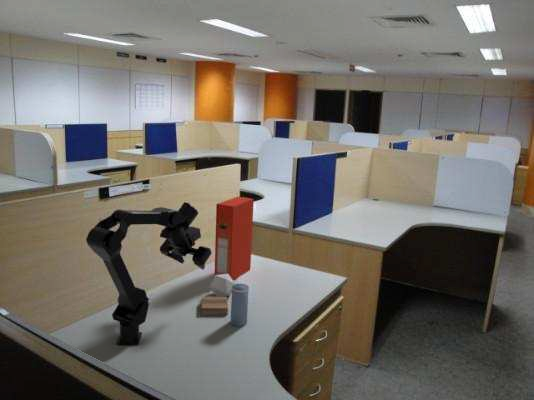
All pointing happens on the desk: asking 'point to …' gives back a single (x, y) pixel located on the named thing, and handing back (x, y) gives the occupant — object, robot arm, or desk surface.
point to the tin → (239, 304)
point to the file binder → (233, 236)
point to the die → (222, 285)
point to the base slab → (214, 306)
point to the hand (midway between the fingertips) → (193, 265)
